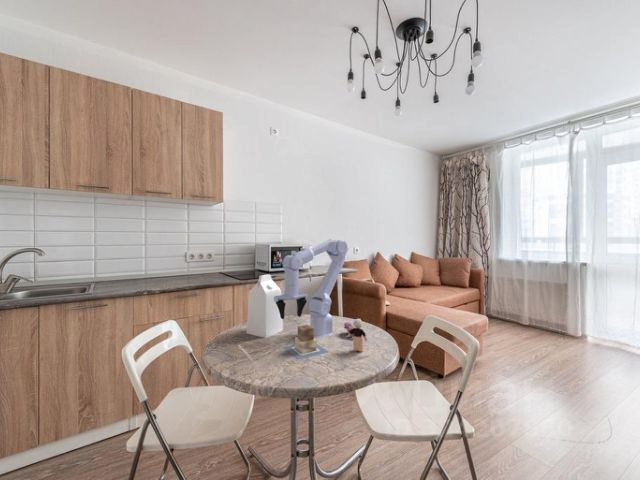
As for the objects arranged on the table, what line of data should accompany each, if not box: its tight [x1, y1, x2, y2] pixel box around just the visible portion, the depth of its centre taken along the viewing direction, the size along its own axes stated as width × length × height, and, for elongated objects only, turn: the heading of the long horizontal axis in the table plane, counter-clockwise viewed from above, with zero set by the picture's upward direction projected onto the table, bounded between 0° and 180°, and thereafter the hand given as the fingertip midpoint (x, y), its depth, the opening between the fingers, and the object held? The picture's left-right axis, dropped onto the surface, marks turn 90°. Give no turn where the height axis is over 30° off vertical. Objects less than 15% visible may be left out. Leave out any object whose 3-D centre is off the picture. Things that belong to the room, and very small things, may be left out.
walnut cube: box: [297, 324, 315, 342], centre depth 110 cm, size 4×4×4 cm
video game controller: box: [343, 321, 356, 339], centre depth 127 cm, size 10×5×7 cm, turn 5°
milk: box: [246, 274, 284, 339], centre depth 132 cm, size 12×12×26 cm
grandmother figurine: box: [347, 318, 368, 353], centre depth 110 cm, size 8×4×13 cm, turn 71°
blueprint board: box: [283, 343, 329, 360], centre depth 111 cm, size 13×13×1 cm
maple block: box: [294, 337, 317, 354], centre depth 111 cm, size 6×6×4 cm
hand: (290, 317), depth 119 cm, fingers open, 7 cm apart
